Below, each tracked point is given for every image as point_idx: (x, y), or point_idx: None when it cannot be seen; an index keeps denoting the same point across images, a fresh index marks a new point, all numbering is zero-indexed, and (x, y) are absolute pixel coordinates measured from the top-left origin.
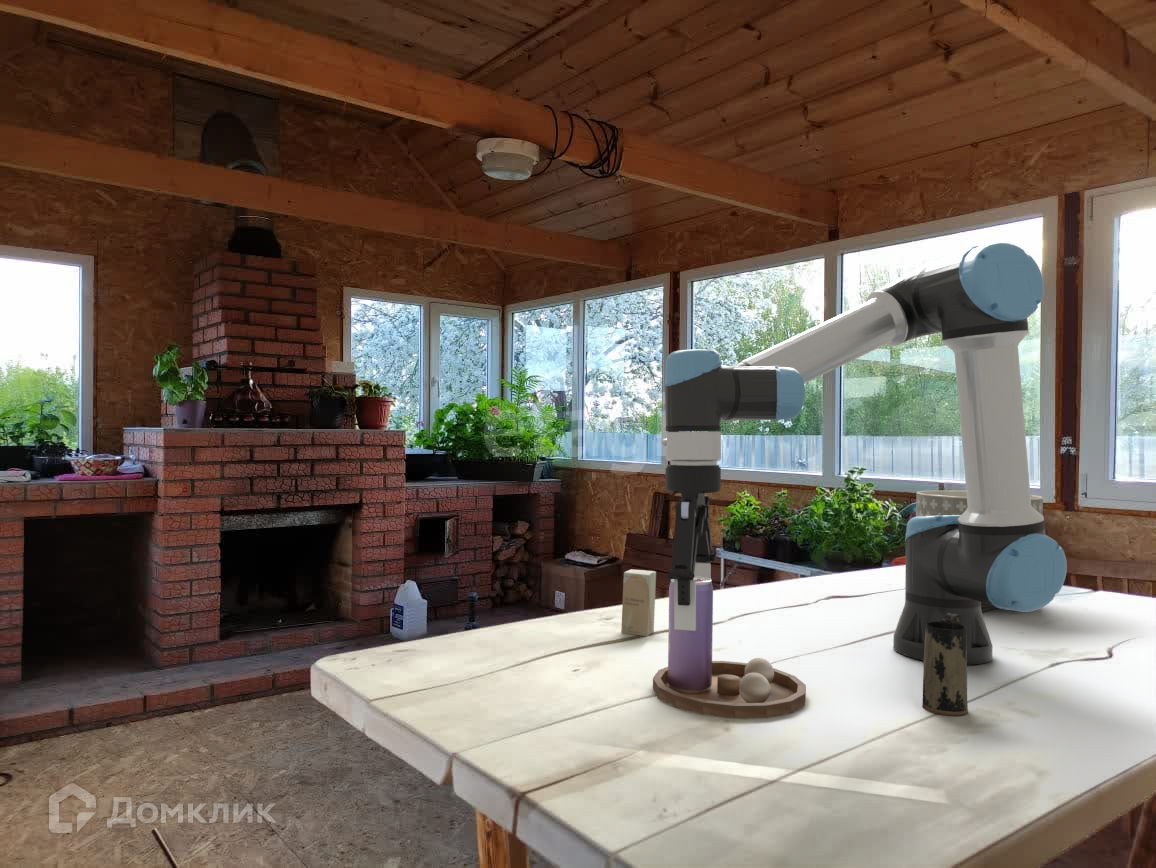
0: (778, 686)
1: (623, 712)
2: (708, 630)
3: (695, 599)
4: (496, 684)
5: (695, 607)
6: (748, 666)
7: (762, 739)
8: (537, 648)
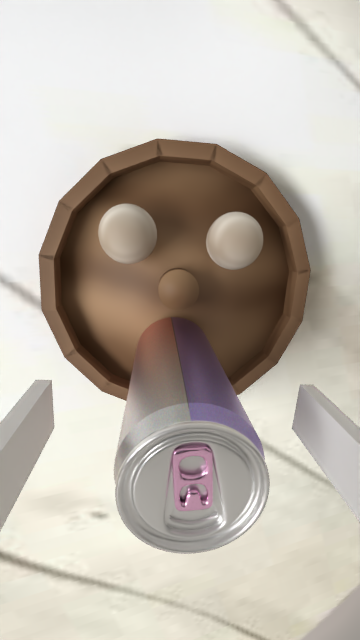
0: (112, 198)
1: (268, 416)
2: (207, 357)
3: (353, 430)
4: (198, 575)
5: (338, 415)
6: (140, 256)
7: (340, 226)
8: (5, 591)
